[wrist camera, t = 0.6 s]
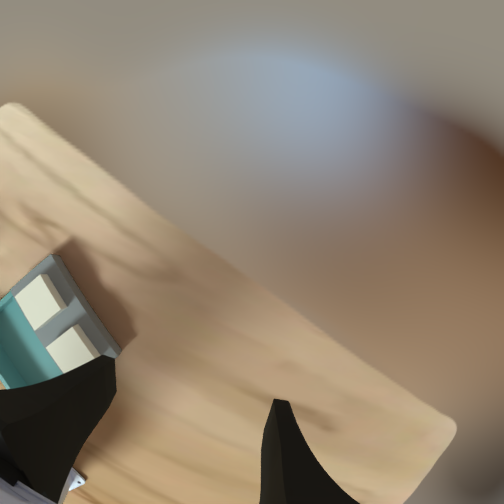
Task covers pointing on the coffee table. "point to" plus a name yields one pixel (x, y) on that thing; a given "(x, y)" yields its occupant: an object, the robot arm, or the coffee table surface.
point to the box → (21, 349)
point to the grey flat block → (68, 309)
